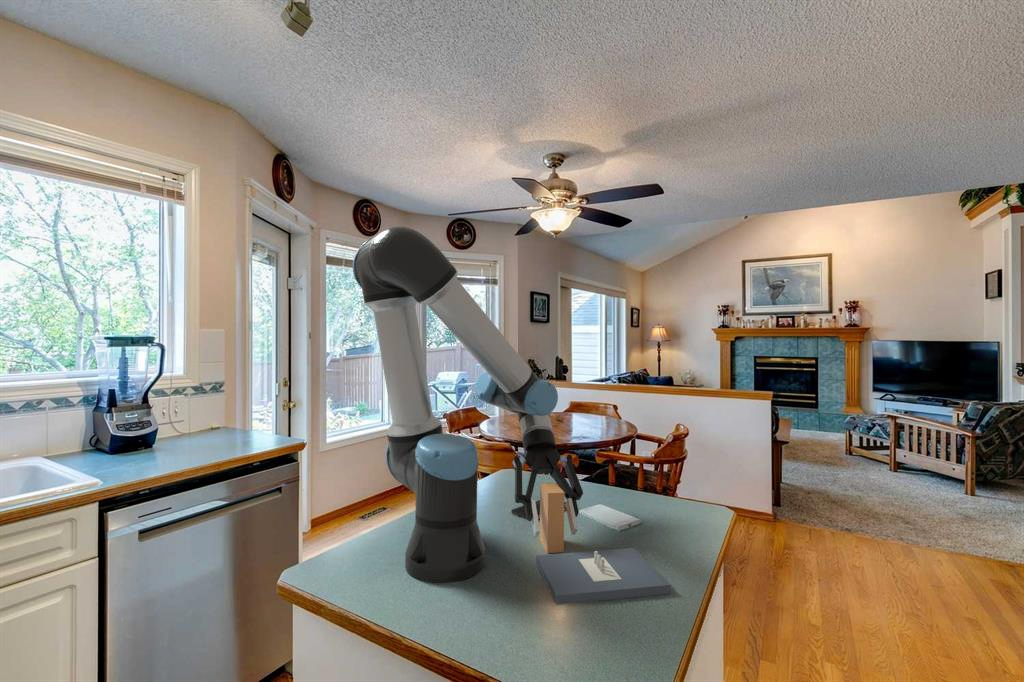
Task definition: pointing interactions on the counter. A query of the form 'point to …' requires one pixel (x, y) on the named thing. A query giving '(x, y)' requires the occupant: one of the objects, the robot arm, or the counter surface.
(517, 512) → the phone
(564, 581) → the header board
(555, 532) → the tan rectangular block
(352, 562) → the counter surface
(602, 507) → the hard drive
